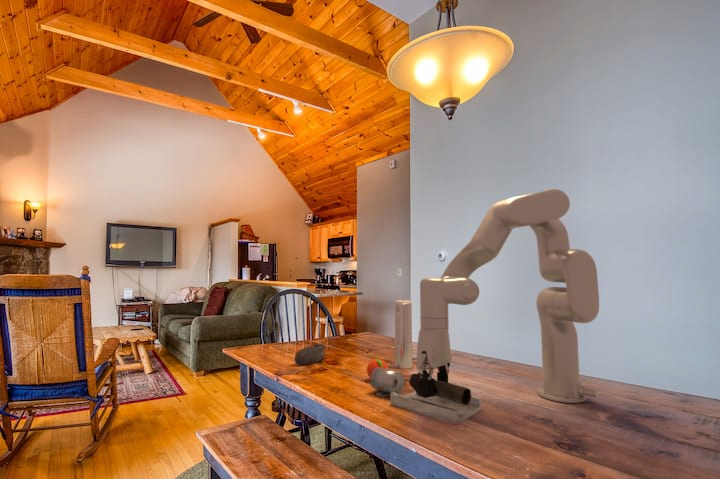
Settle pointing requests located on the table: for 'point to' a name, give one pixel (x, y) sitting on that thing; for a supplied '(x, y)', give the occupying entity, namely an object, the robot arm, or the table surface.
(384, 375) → the duct stub
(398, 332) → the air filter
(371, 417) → the table surface
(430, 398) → the cradle
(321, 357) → the perforated stone tool
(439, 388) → the brown knobbed club
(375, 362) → the clementine
